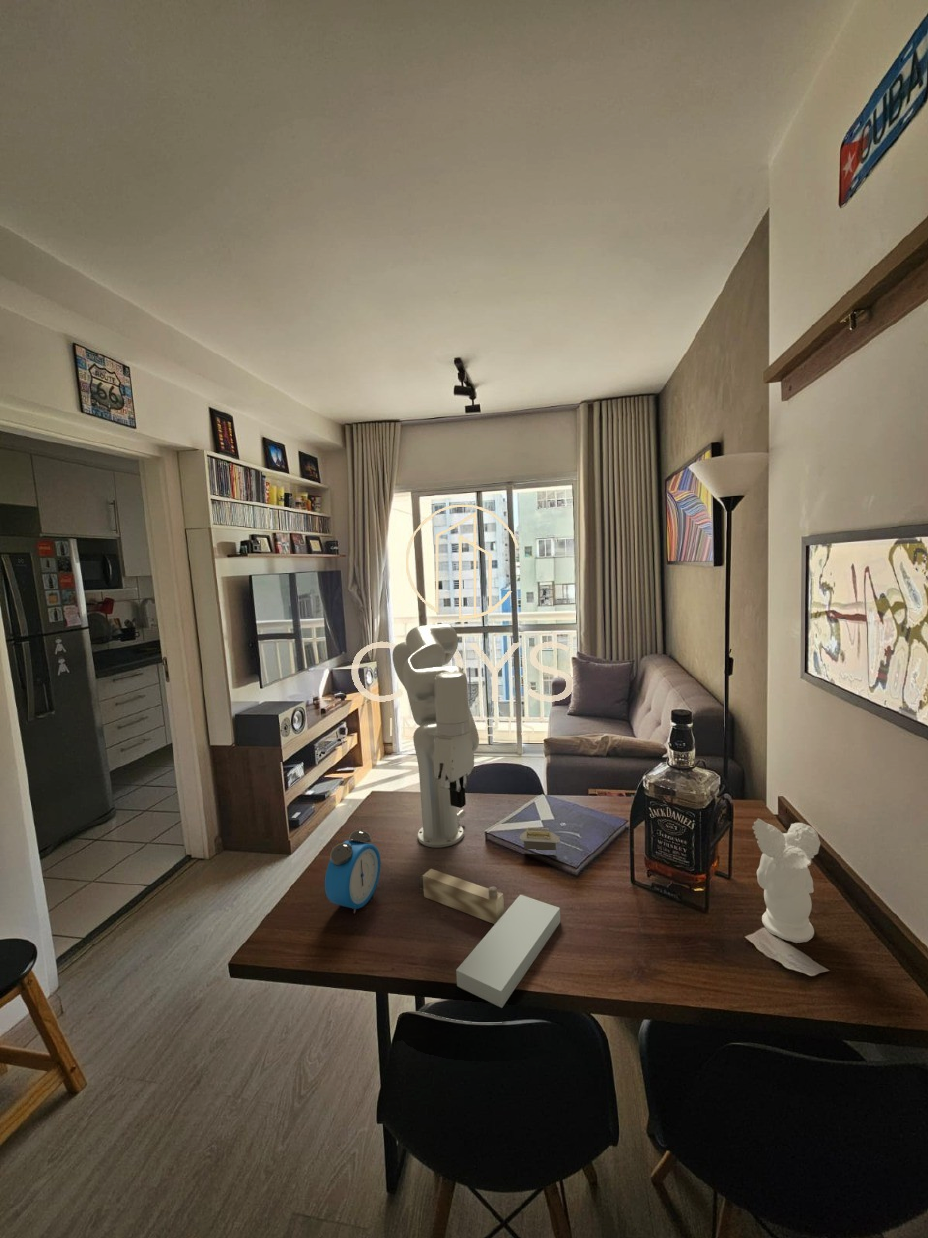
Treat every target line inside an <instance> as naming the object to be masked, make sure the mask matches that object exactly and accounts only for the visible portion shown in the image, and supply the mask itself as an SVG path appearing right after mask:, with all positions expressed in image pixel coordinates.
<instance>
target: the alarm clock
mask: <svg viewBox="0 0 928 1238" xmlns="http://www.w3.org/2000/svg"><path fill="white" fill-rule="evenodd" d="M371 840H372V837H371V835H370V833H369V832H368V831H366V830H364V829H363V828H361V829H356V830H354V831H352V832H351V833H350V835H349V837H348V840H345V841H343V842H341V843H337V844H336V845H335V846H334V847H332V850H331V852H330V854H329V856H330V857H329V861H328V864H327V867H326V871H325V878H324V889H325V894H326V897H327V899H328V900H329V902H330V903H331V904H334V905H338V906H341V907H345V908H349V909H353V914H356V912H357V910H358V909H361V908H363V907H364V906H365V905H366V904H368V902H369V901H370V900H371V898H372V897H373V896H374V893H375V890H376V889H377V886H378V884H379V880H380V876H381V875H380V874H381V868H382V867H381V863H382V862H381V855H380V852H379V850H378V848H377V846H376V845H374V844H372V843H370V842H371Z"/></svg>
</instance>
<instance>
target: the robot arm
mask: <svg viewBox="0 0 928 1238" xmlns="http://www.w3.org/2000/svg"><path fill="white" fill-rule="evenodd" d="M458 645H459V637H458V634H457V631H456V629H455V628H454V627H453V626H452V625H450V624H447V623H441V624H430V625H429V624H428V625H419V626H416V627H413V628H411V629H410V630H409V631H408V633H407V634H406V637H405V641H404V642H401V643H400V642H399V643H398V644H397V645H395V646H394V647H393V650H392V663H393V668H394V670H395V673H396V675H397V677H398V679H399V681H400V683H401V684H402V685H403V688H404V689H405V691H406V695H407V699H408V702H409V706H410V711H411V714H412V718H413V720H414V722H415V724H417V725H418V727H417V728H415V730H414V733H413V736H412V738H413V745H414V750H415V755H416V760H417V766H418V777H419V779H418V780H419V790H420V803H421V820H422V827H420V829H419V830H418V832H417V840H418V842H419V843H420V844H422V845H423V846H426V847H428V848H434V849H435V848H439V849H440V848H446V847H451V846H453V845H455V844H457V843H459V842H460V841H461V840H462V839H463V837H464V836H465V835H464V834H465V833H464V832H465V831H464V828H463V826H462V825H460V821H461V819H462V818H464V817H465V816H466V811H465V810H464V809H462V808H463V807H465V806H466V805H467V803H466V802H467V801H466V787H467V778H468V776H469V775H470V774H471V773H472V770H473V769H474V767H475V753H474V752H476V751H477V749H478V748H479V745H480V737H479V732H478V727H477V726H476V723H475V720H474V717H473V714H472V711H471V708H470V706H469V705H470V704H469V689H468V688H469V687H468V685H469V684H468V678H467V675H466V672H465V671H464V670H463V669H462V668H461V666H458V665H448V664H449V663H450V662H451V660H452V659H453V657H454V655H455V654H456V652H457V649H458V647H459V646H458ZM446 665H447V666H446ZM457 808H460V810H459V811H458V809H457Z"/></svg>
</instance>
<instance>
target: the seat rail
mask: <svg viewBox="0 0 928 1238" xmlns="http://www.w3.org/2000/svg"><path fill="white" fill-rule="evenodd" d="M560 923H561V907H558V906H555V905H552V904H549V903H546V902H543V901H540V900H537V899H535V898H532V897H529V896H527V895H524V894H519V896H517V898H516V899H515V900H514V901H513V903H512V904H511V905H510V906H509V907H508V908H507V910H506V911H504V914H503V916H502V917H501V918H500V919H499V920H498V921H497V923H496V924H493V926H492V927H491V928H490V930H489V931H488V932H487V933H486V934H485V936H484V937H483V938H482V939H481V940H480V941H479V943H478V944H476V946H475V947H474V949H473V950H472V951H471V952H470V953H469V954H468V956H467V957H466V958H465V959H464V960H463V961H462V963H461V964H459V966H458V967H457V968H456V970H455V972H456V986H457V987H458V988H460V989H462V990H463V991H466V992H468V993H470V994H472V995H475V996H476V997H478V998H481V999H483V1000H485V1001H487V1002H488V1003H490V1004H493V1005H495V1006H496V1007H499V1008H501V1009H502V1008H503V1007H504V1006H505V1004H506V1003H507V1002H508V1000H509V998H510V997H511V995H513V992H514V991H515V989H516V988H517V986H519V983H520V982H521V981H522V979H523V978H524V977H525V975H526V973H527V972H528V971H529V969H530V968H531V966H532V964H533V962H534V961H535V960H536V959H537V957H538V956H539V954H540V952H541V951H542V950H543V948H544V947H545V945H546V944H547V942H548V941H549V939H550V938H551V936H552V935H553V934H554V933H555V931H556V929H557V927H559V925H560Z"/></svg>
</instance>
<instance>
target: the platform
mask: <svg viewBox="0 0 928 1238" xmlns="http://www.w3.org/2000/svg"><path fill="white" fill-rule="evenodd" d="M519 841H521V842H523V850H524V849H536V850H556V851H557V844H560V841H561V840H560V836H558V835H557V834H555V833H554V832H552V831H551V832H550V828H545V827H544V828H543V827H526V831H523V832H522V833H521V834H520V835H519Z"/></svg>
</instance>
